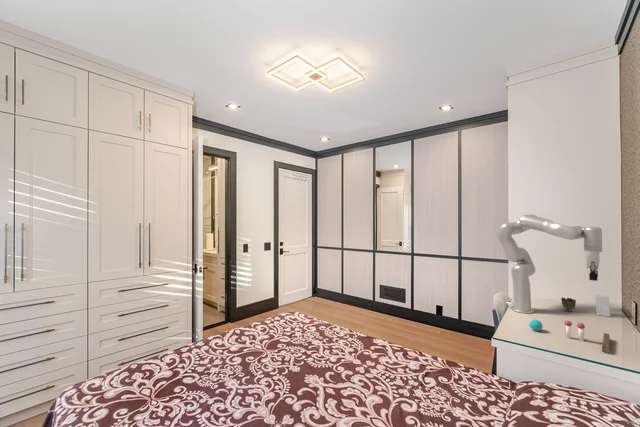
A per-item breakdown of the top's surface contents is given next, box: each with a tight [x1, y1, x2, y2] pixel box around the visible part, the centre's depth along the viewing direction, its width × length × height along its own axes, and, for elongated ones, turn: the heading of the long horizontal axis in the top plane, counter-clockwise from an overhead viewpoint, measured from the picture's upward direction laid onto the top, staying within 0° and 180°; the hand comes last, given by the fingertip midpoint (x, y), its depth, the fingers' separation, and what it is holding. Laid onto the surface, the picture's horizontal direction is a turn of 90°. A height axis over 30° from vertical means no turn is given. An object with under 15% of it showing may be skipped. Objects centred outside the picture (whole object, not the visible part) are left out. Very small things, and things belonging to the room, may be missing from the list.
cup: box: [560, 297, 577, 313], centre depth 190 cm, size 8×7×8 cm
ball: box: [528, 318, 543, 332], centre depth 161 cm, size 6×6×6 cm
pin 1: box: [564, 320, 573, 339], centre depth 151 cm, size 3×3×9 cm
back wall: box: [601, 332, 611, 354], centre depth 141 cm, size 2×20×3 cm, turn 133°
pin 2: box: [576, 322, 586, 342], centre depth 147 cm, size 3×3×9 cm
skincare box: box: [595, 294, 611, 317], centre depth 181 cm, size 6×4×12 cm
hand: (593, 278), depth 162 cm, fingers open, 9 cm apart
